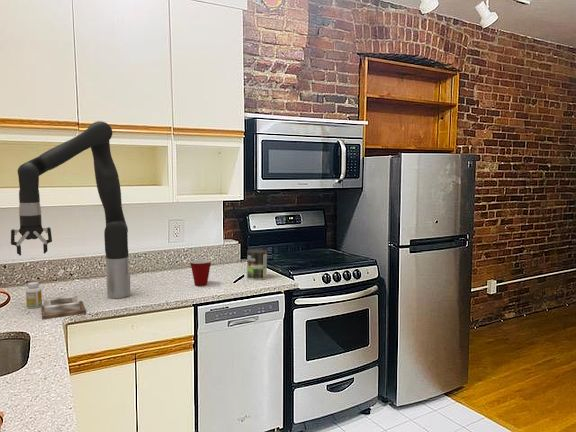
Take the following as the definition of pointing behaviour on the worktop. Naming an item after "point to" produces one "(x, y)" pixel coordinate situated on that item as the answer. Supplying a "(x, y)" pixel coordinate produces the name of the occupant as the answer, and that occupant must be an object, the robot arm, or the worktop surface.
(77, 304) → the frame
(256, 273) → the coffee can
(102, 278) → the worktop surface
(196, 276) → the plastic cup
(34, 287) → the supplement bottle
